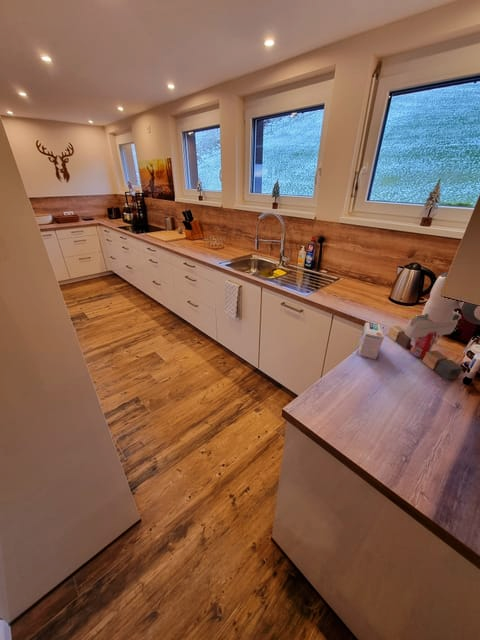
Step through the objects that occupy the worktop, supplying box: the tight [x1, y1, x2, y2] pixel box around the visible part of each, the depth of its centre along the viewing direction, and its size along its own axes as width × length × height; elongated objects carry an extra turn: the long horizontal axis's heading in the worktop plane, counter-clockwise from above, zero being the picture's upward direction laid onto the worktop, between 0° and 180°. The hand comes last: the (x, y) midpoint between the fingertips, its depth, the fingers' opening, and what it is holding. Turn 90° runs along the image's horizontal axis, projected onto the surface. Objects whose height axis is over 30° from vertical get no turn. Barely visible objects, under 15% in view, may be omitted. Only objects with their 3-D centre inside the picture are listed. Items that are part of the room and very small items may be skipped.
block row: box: [387, 325, 464, 381], centre depth 108 cm, size 5×31×5 cm, turn 13°
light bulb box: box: [358, 321, 385, 360], centre depth 108 cm, size 11×7×11 cm, turn 157°
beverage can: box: [409, 333, 437, 359], centre depth 106 cm, size 6×6×12 cm
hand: (423, 343), depth 107 cm, fingers open, 8 cm apart
